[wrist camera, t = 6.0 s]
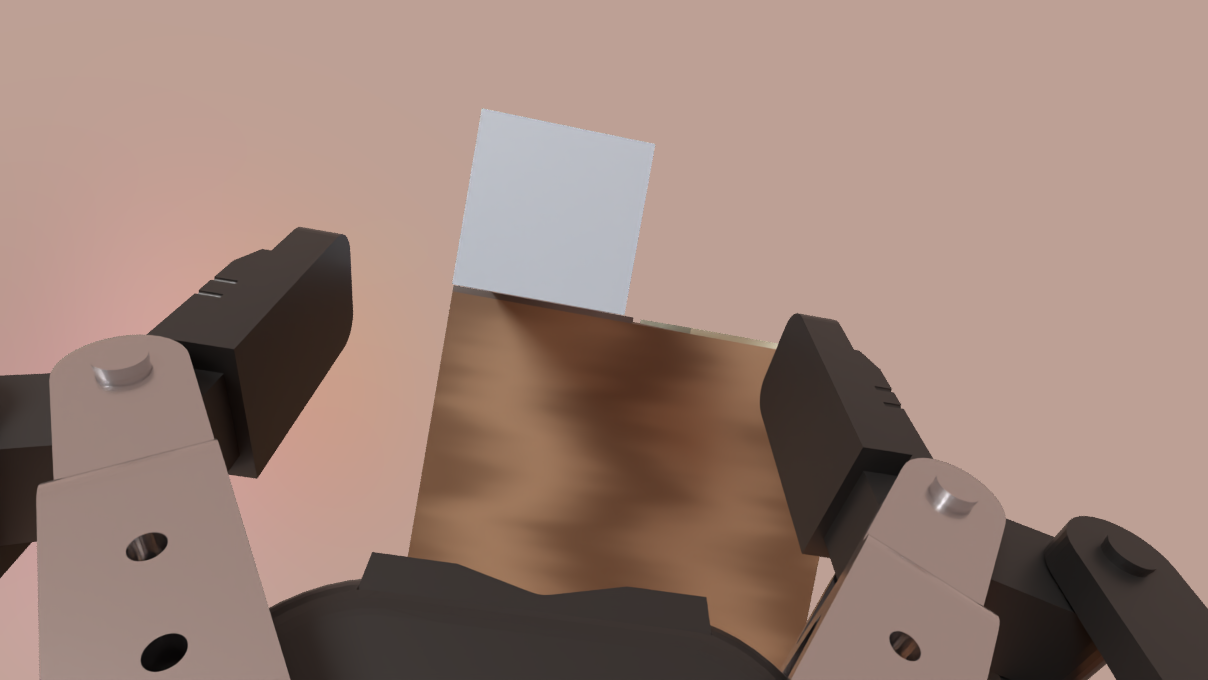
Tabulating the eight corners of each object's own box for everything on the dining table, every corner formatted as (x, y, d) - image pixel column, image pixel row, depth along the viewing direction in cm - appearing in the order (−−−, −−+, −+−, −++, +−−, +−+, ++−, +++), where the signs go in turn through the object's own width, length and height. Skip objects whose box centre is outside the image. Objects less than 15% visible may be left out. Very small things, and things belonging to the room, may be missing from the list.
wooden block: (299, 1199, 21) (453, 285, 20) (390, 879, 33) (490, 292, 32) (689, 1216, 23) (858, 358, 21) (642, 902, 35) (749, 339, 33)
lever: (452, 284, 12) (481, 108, 12) (514, 296, 32) (526, 230, 32) (624, 315, 13) (655, 144, 12) (580, 308, 32) (592, 242, 32)
